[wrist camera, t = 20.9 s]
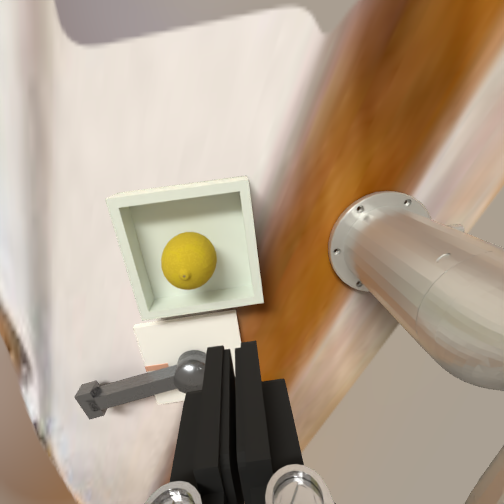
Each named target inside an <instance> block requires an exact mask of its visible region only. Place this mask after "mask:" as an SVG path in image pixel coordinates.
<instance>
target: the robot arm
mask: <svg viewBox="0 0 504 504" xmlns="http://www.w3.org/2000/svg"><path fill="white" fill-rule="evenodd" d="M358 206H359V209H358V210H357V207H358ZM335 249H336V251H334V250H335ZM328 254H329V259H330V263H331V265H332V267H333V270H334V271H335V272H336V274H337V275H338V276H339V277H340V279H341V280H342V281H343V282H345V283H346V284H347V285H349V286H350V287H352V288H354V289H357V290H361V291H366V292H371V293H372V294H373V295H374V296H375V298H376V299H377V300H378V301H379V302H380V303H381V304H382V305H383V306H384V307H385V308H386V309H387V310H388V311H389V312H390V314H391V315H392V316H393V317H394V318H395V319H396V320H397V321H398V322H399V323H400V324H401V325H402V326H403V327H404V328H405V330H406V331H407V332H408V333H409V334H410V335H411V336H412V337H413V338H414V339H415V340H416V341H417V342H418V343H419V344H420V346H422V348H423V349H424V350H425V351H426V352H427V353H428V354H429V355H430V356H431V357H432V358H433V359H434V360H435V361H436V362H437V363H438V364H439V365H440V366H441V367H442V368H444V369H445V370H446V371H447V372H449V373H450V374H452V375H453V376H455V377H457V378H459V379H460V380H463V381H464V382H467V383H470V384H473V385H475V386H479V387H483V388H488V389H493V390H500V391H504V248H502V247H499V246H497V245H494V244H492V243H489V242H487V241H484V240H482V239H479V238H477V237H474V236H472V235H469V234H466V233H464V227H463V226H462V225H461V224H457V225H450V226H446V225H444V224H441V223H439V222H436V221H434V220H432V219H431V216H430V215H429V213H428V211H427V209H426V208H425V207H424V206H423V204H422V203H421V202H419V201H418V200H416V199H415V198H414V197H411V196H409V195H406V194H404V193H400V192H396V191H382V192H375V193H372V194H369V195H366V196H364V197H362V198H360V199H358V200H357V201H355V202H354V203H353V204H351V205H350V206H349V207H347V209H346V210H345V211H344V212H343V213H342V214H341V215H340V217H339V218H338V220H337V221H336V223H335V224H334V227H333V229H332V231H331V234H330V238H329V243H328ZM244 502H245V504H335V503H334V501H333V499H332V496H331V494H330V492H329V489H328V487H327V485H326V484H325V482H324V480H323V479H322V477H321V476H320V475H318V473H317V472H316V471H314V470H313V469H311V468H309V467H307V466H304V464H303V459H302V455H301V450H300V446H299V441H298V437H297V432H296V428H295V423H294V419H293V414H292V410H291V406H290V401H289V397H288V392H287V388H286V383H285V380H284V379H277V380H270V381H263V382H261V375H260V367H259V359H258V352H257V344H256V341H251V342H243V343H241V347H239V348H235V374H234V368H233V362H232V356H231V350H230V349H224V346H223V345H221V346H214V347H208V348H207V352H206V361H205V370H204V378H203V387H202V390H198V391H191V392H187V393H186V395H185V400H184V405H183V411H182V416H181V422H180V427H179V433H178V439H177V444H176V450H175V455H174V461H173V467H172V472H171V478H170V483H168V484H166V485H164V486H161V487H160V488H159V489H158V490H156V491H155V492H154V493H153V494H152V495H151V496H150V497H149V499H148V500H147V501H146V502H145V504H244ZM465 504H504V446H503V447H502V449H501V450H500V451H499V453H498V454H497V456H496V457H495V458H494V460H493V461H492V463H491V464H490V465H489V467H488V468H487V470H486V471H485V472H484V474H483V475H482V476H481V478H480V479H479V481H478V483H477V484H476V486H475V487H474V489H473V491H472V492H471V493H470V495H469V497H468V499H467V500H466V502H465Z"/></svg>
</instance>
